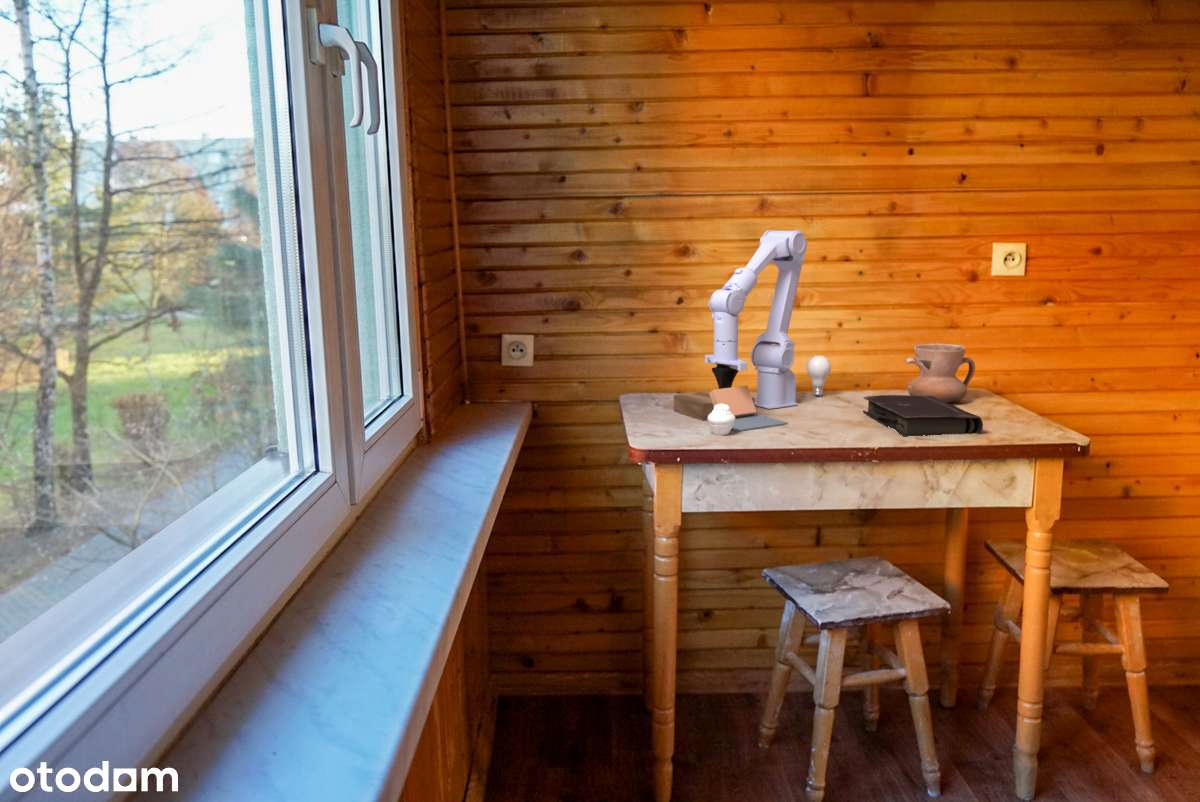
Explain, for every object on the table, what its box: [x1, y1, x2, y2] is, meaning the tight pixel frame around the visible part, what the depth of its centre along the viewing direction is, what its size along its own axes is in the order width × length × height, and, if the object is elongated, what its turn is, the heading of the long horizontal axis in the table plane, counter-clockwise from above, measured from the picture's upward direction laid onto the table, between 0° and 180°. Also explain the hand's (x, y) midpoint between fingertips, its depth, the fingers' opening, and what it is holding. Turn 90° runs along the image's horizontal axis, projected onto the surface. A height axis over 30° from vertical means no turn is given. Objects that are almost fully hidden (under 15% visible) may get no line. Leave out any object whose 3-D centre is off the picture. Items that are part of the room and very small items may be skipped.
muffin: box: [707, 403, 735, 436], centre depth 208 cm, size 6×6×7 cm
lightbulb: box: [806, 354, 832, 397], centre depth 248 cm, size 6×6×11 cm
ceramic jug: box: [905, 343, 976, 404], centre depth 240 cm, size 18×14×14 cm
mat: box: [705, 412, 789, 432], centre depth 219 cm, size 14×13×1 cm
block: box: [709, 385, 757, 418], centre depth 223 cm, size 10×7×2 cm
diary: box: [862, 394, 984, 438], centre depth 216 cm, size 19×25×5 cm
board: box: [673, 390, 755, 422], centre depth 231 cm, size 15×13×4 cm
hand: (724, 396), depth 226 cm, fingers closed
